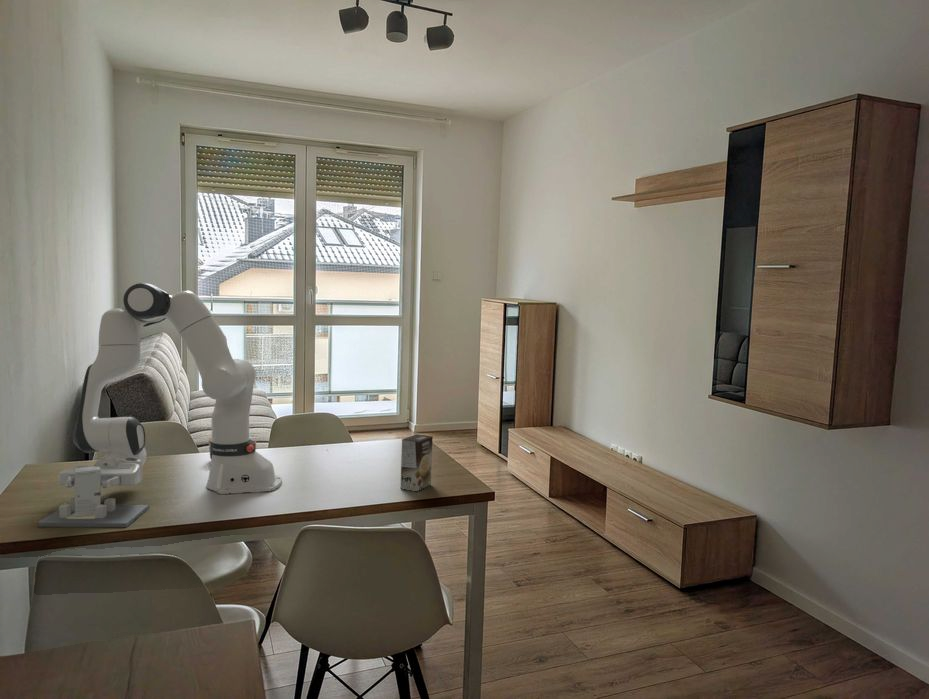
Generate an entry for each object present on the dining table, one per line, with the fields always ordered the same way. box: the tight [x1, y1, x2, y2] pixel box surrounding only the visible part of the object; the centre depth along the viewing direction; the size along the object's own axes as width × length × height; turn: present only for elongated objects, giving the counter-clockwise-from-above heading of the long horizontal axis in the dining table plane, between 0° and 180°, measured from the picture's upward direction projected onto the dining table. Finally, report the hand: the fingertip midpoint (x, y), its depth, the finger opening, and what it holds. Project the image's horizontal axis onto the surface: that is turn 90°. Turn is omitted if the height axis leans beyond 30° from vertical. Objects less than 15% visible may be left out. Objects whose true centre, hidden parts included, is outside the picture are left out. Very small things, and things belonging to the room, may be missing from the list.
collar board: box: [37, 497, 150, 528], centre depth 175 cm, size 22×14×4 cm, turn 94°
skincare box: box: [74, 465, 102, 517], centre depth 174 cm, size 6×4×12 cm
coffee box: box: [400, 434, 433, 492], centre depth 208 cm, size 9×6×16 cm
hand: (86, 484), depth 173 cm, fingers open, 8 cm apart
